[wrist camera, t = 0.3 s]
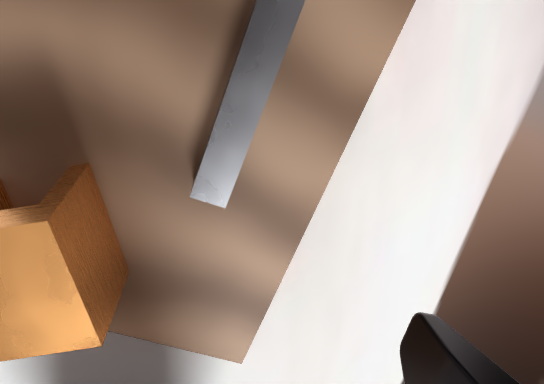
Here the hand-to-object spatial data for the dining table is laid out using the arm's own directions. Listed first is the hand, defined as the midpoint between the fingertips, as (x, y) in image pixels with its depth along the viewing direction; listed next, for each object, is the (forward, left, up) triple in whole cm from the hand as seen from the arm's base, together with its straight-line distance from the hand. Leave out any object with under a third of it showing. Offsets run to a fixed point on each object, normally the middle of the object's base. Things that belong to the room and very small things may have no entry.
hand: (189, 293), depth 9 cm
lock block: (-9, +5, -13) cm, 16 cm away
